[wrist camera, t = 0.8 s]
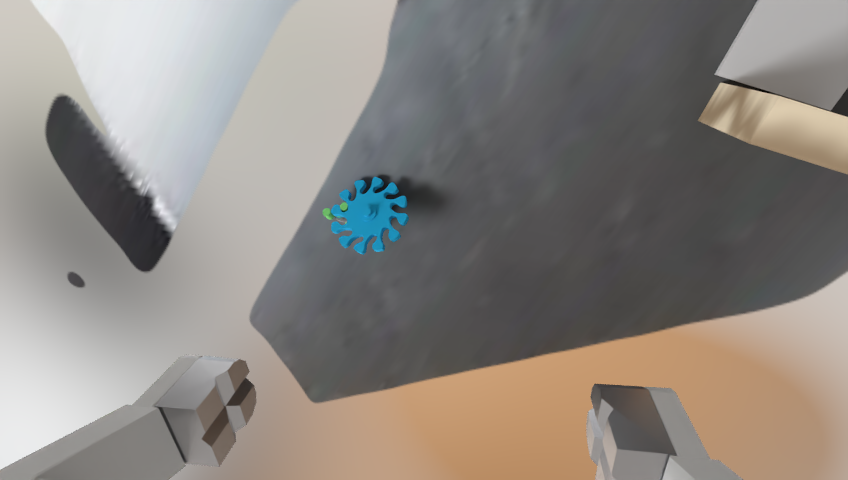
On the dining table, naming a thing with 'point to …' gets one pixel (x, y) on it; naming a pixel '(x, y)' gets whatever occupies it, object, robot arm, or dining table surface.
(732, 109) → the birch slab
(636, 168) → the dining table surface
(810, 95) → the mat
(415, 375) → the dining table surface
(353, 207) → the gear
